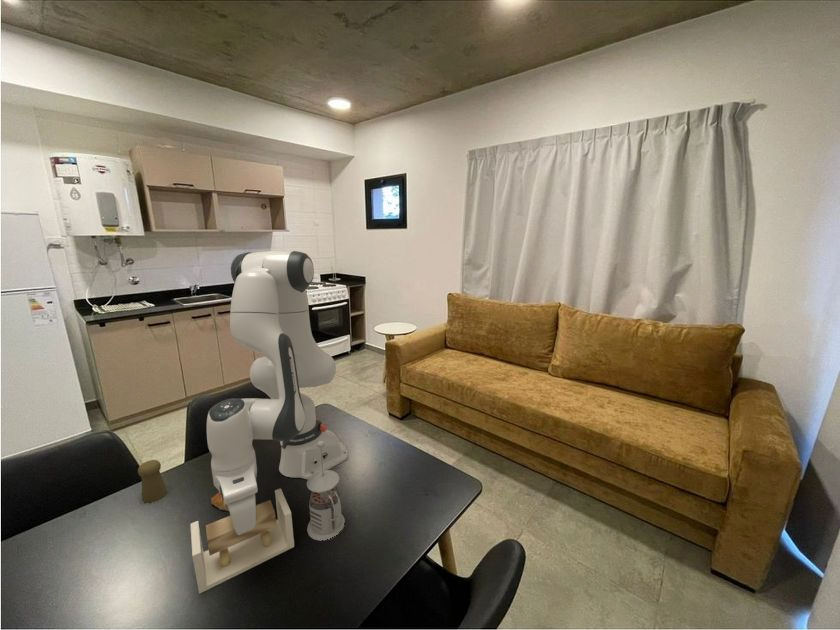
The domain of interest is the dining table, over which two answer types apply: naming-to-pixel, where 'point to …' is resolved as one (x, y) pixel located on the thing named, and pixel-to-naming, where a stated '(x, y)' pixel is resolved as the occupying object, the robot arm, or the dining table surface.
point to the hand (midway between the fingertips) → (241, 521)
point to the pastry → (219, 502)
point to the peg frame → (242, 549)
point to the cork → (152, 481)
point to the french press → (324, 504)
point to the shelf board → (226, 536)
